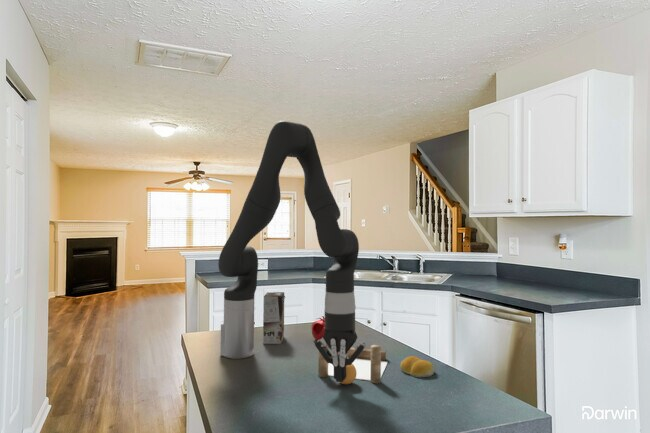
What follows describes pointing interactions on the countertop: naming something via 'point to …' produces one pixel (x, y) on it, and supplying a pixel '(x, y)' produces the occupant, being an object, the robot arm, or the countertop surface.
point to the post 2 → (375, 363)
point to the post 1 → (322, 366)
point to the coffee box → (273, 318)
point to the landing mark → (360, 369)
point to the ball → (349, 374)
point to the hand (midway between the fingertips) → (340, 380)
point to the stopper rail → (366, 354)
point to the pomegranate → (318, 328)
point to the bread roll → (417, 367)
